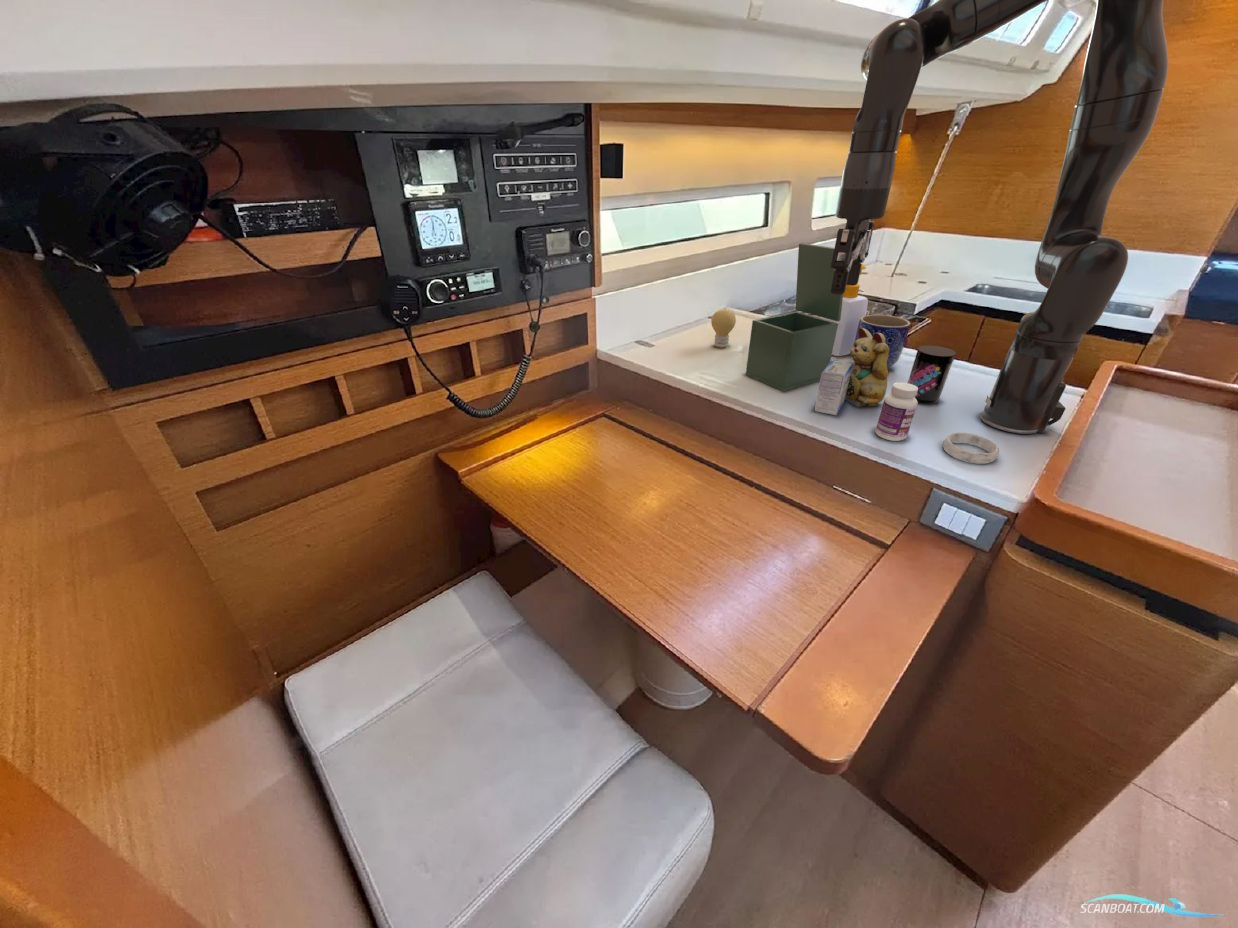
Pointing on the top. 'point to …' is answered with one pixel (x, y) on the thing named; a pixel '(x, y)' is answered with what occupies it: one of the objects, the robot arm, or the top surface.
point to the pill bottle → (897, 412)
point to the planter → (887, 333)
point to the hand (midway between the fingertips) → (844, 289)
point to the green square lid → (817, 282)
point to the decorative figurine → (868, 370)
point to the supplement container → (931, 372)
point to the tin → (790, 349)
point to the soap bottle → (849, 319)
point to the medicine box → (833, 387)
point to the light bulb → (723, 326)
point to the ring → (968, 455)
